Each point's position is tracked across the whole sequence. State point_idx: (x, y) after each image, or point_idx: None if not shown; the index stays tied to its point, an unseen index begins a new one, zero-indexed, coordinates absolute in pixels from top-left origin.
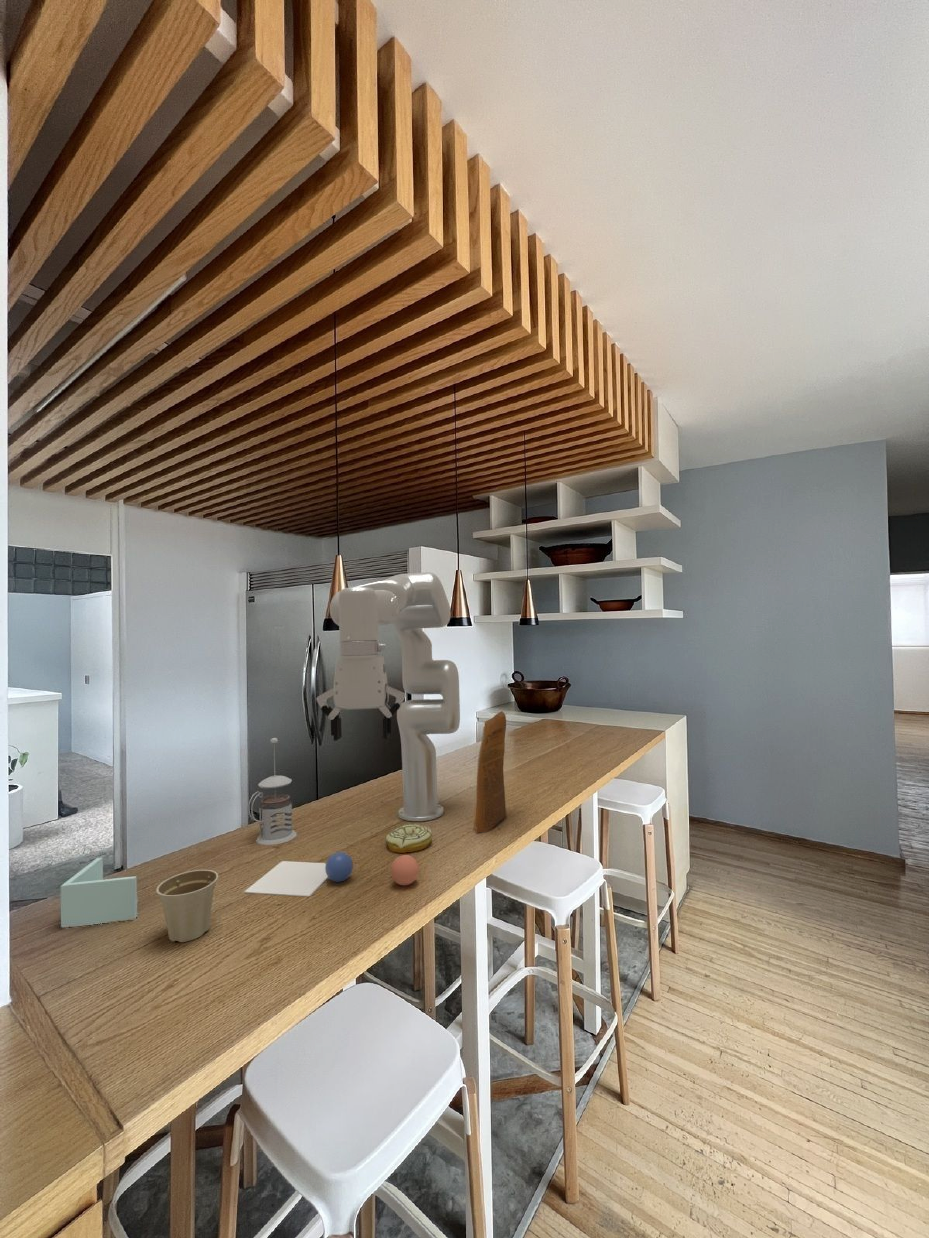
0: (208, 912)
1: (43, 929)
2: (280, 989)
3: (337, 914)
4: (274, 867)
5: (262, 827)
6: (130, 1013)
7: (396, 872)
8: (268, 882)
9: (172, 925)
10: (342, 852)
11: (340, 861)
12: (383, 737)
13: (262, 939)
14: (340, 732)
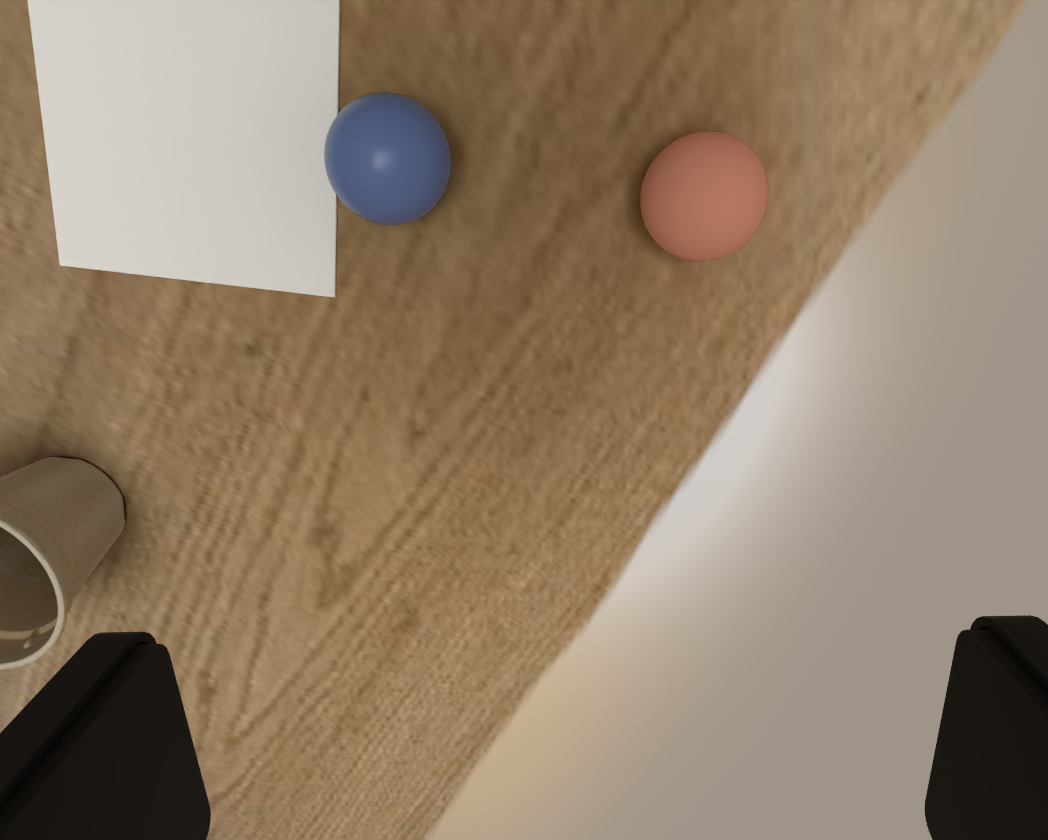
0: (99, 533)
1: None
2: (465, 702)
3: (486, 412)
4: (33, 27)
5: None
6: None
7: (675, 255)
8: (105, 185)
9: (42, 583)
10: (386, 141)
11: (403, 205)
12: (931, 836)
13: (314, 535)
14: (128, 752)
